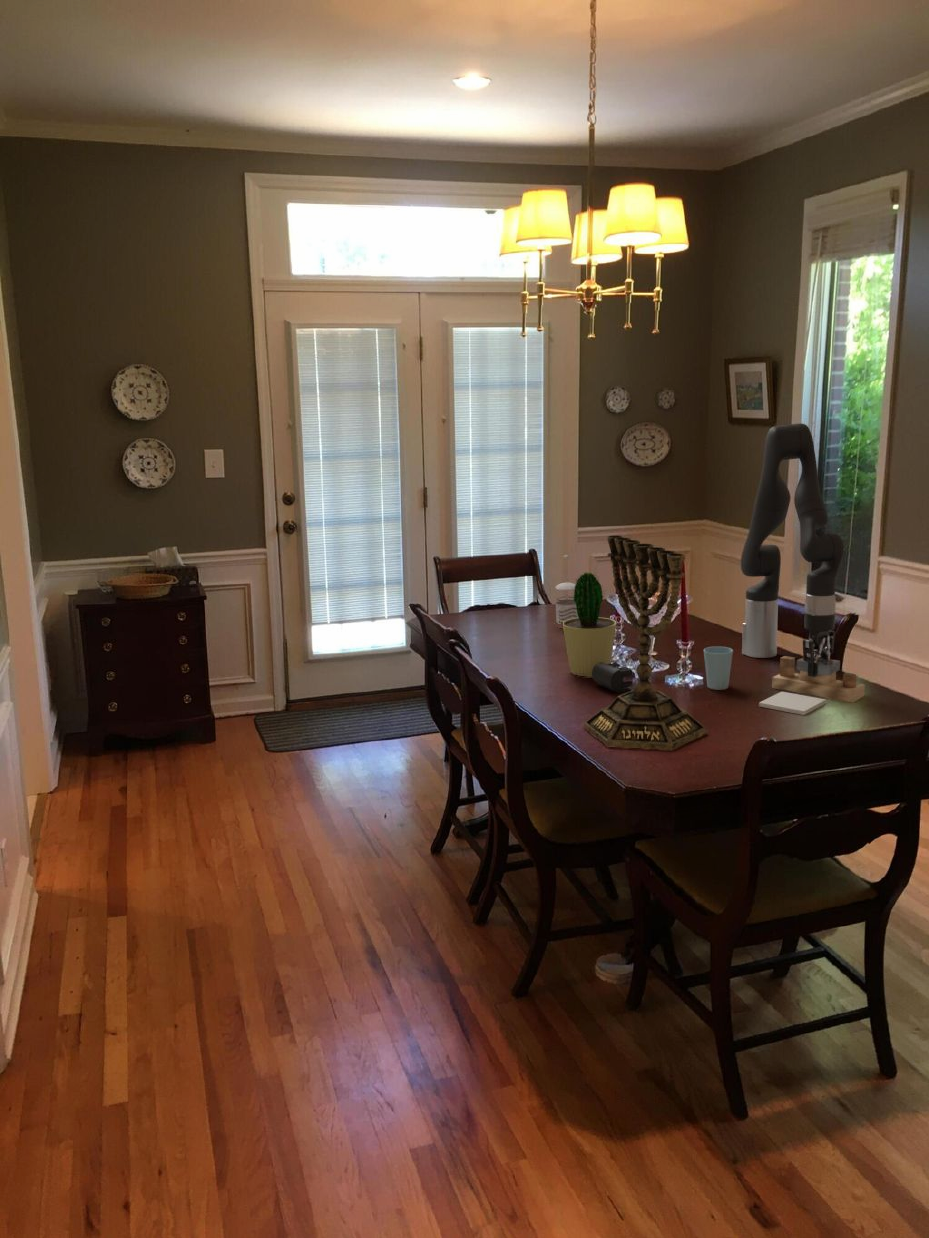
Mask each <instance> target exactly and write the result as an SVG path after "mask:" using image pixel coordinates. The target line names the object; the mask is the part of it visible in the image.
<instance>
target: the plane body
mask: <svg viewBox="0 0 929 1238" xmlns="http://www.w3.org/2000/svg"><path fill="white" fill-rule="evenodd" d="M779 659H780V661H779V673H778V674H776V675H774V676H772V677H771V682H772V683H771V687H772V688H771V689H777V690H782V691H785V692H786V691H787V692H792V693H796V694H803V695H804V694H805V695H807V696H810V695H811V696H814V697H820V698H824V699H825V698H826V699H831V700H837V701H842V702H848V703H854V702H857V700H859V699H861V698H864V696H865V686H866V685H865V684H864V683H863V684H862V683H857V674H855V673H846V672H845V673H843V674H842V680H839V679H837V678H836V677H837V672H835V673H833V674H831V675H825V674H819V673H817V676H816V677H811V676H808V672H807V671H801V670H798V671H799V673H795V671H796V657H793V656H788V655H784V656H782V657H780V658H779Z"/></svg>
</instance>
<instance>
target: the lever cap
mask: <svg viewBox="0 0 929 1238" xmlns="http://www.w3.org/2000/svg"><path fill="white" fill-rule="evenodd" d="M814 657H815V655H814ZM840 668H841V661H840V660H838V659H832V658H828V659H825V658H822V657H820V656H818V660H817V673H819V674H825V675H831V674H833V673H835V672H836V673H837V672H838V671H841V669H840ZM796 670H797V671H799V670H801V671H807V672H808V662H807V661H803V657H802V658H799V659H797V660H796V667H795V671H796Z"/></svg>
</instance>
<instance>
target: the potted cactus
mask: <svg viewBox="0 0 929 1238" xmlns="http://www.w3.org/2000/svg"><path fill="white" fill-rule="evenodd" d="M599 578H600V576H597V574H596V572H593V573H592V572H583V574H580V575H578V576H577V578H576V577H575V579H574V581H575V582H573V584H574V585H575V587H574V586H573V587H574V588H575V589H574V590H573V589H572V590H571V591H573V592H572V593H570V594H571V597H574V599H571V600H574V603H576V609H577V611H576V613H577V615H578V617H579V618H574V619H569V620H566V621H564V622H563V634H564V635H563V636H564V640H565V647H566V653H567V659H568V665H569V670H570V673H571V672H572V673H574V674H578V675H581V676H588V677H587V678H592V670H593V667H594V666H595V665H596V664H597V663H599V662H603V663H605V664H610V663H612V656H613V648H614V641H615V633H616V626H617V621H616V620H614V619H612V618H608V617H600V616H601V615H600V613H602V609H601V608H603V606H601V605H603V601H604V594H603V586H602V585H601V583H600V581H599ZM605 591H607V590H604V592H605ZM574 611H575V610H574ZM575 615H576V614H575Z"/></svg>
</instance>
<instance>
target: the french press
mask: <svg viewBox="0 0 929 1238" xmlns="http://www.w3.org/2000/svg"><path fill="white" fill-rule="evenodd" d="M562 558H563V559H564V560H567V559H569V558H570V557H569V555H567V554H565V555H563V557H562ZM567 568H568V567H567V561H565V573H566V575H565V577H566V581H565V582H562V583H558V584H557V585H556V586H555V587H554V588H555V590H557V591H562V592H563V591H564V592H565V591H566V592H569V591H574V589H575V588H574V587H575V585H576V584H575V585H574V582H569V581H568V571H567V570H568V569H567ZM573 586H574V587H573ZM572 589H573V590H572ZM571 599H574V596H573V597H572V596H568V595H565V596H558V597H557V598H556V600H557V601H556V602H555V611H556V612H555V620H556V622H557V623H558V624H561V623H559V621H560V622H564V621H566V620H569V619H574V618H579V617H578V615H577V613H576V611H577V609H576V603H574V600H571ZM574 610H575V611H574ZM575 614H576V615H575ZM562 619H565V620H562ZM556 622H555V623H556Z"/></svg>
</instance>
